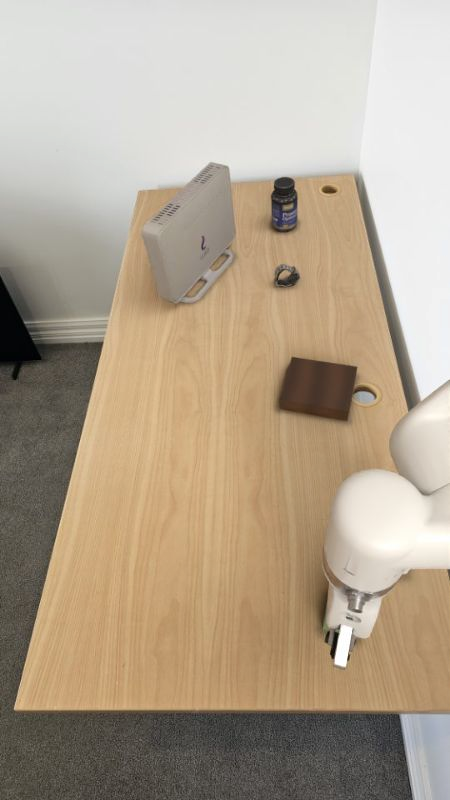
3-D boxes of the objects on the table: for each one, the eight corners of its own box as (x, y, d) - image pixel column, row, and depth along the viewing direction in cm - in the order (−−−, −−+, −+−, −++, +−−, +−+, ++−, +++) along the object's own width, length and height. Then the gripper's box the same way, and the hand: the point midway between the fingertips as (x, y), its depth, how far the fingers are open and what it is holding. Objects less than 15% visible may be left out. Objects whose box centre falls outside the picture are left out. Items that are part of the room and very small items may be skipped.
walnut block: (355, 376, 92) (357, 366, 90) (347, 421, 87) (349, 411, 84) (291, 366, 95) (291, 356, 93) (279, 409, 90) (279, 399, 87)
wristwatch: (287, 292, 109) (303, 276, 106) (269, 281, 107) (284, 264, 104) (285, 284, 111) (300, 268, 108) (267, 273, 109) (282, 256, 106)
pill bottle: (284, 236, 118) (284, 193, 109) (266, 226, 121) (264, 183, 112) (302, 223, 120) (303, 181, 111) (284, 214, 123) (283, 171, 114)
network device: (184, 316, 106) (166, 236, 90) (152, 303, 109) (128, 225, 93) (245, 246, 118) (238, 164, 102) (214, 236, 121) (202, 156, 105)
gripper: (392, 665, 43) (366, 689, 56) (409, 486, 52) (383, 544, 66) (305, 639, 45) (300, 668, 58) (337, 471, 54) (326, 530, 68)
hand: (344, 602), depth 62 cm, fingers open, 9 cm apart
